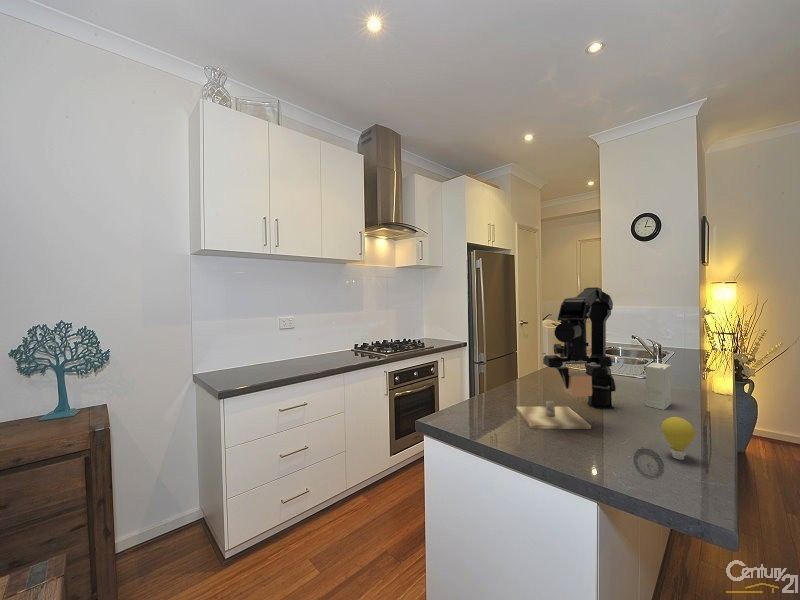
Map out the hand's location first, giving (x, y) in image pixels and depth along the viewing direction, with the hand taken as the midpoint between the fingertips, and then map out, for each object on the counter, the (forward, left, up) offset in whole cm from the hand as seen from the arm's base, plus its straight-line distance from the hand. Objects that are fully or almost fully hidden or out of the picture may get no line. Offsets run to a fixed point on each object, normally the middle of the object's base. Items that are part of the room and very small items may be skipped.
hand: (577, 388), depth 108 cm
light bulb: (-16, +20, -12) cm, 29 cm away
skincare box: (-36, -20, -12) cm, 43 cm away
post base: (+6, -7, -12) cm, 15 cm away
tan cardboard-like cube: (0, 0, -2) cm, 2 cm away
